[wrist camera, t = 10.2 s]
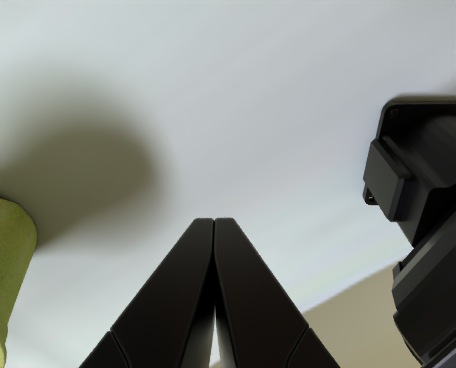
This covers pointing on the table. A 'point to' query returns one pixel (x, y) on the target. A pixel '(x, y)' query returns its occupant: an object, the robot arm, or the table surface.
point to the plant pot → (13, 261)
